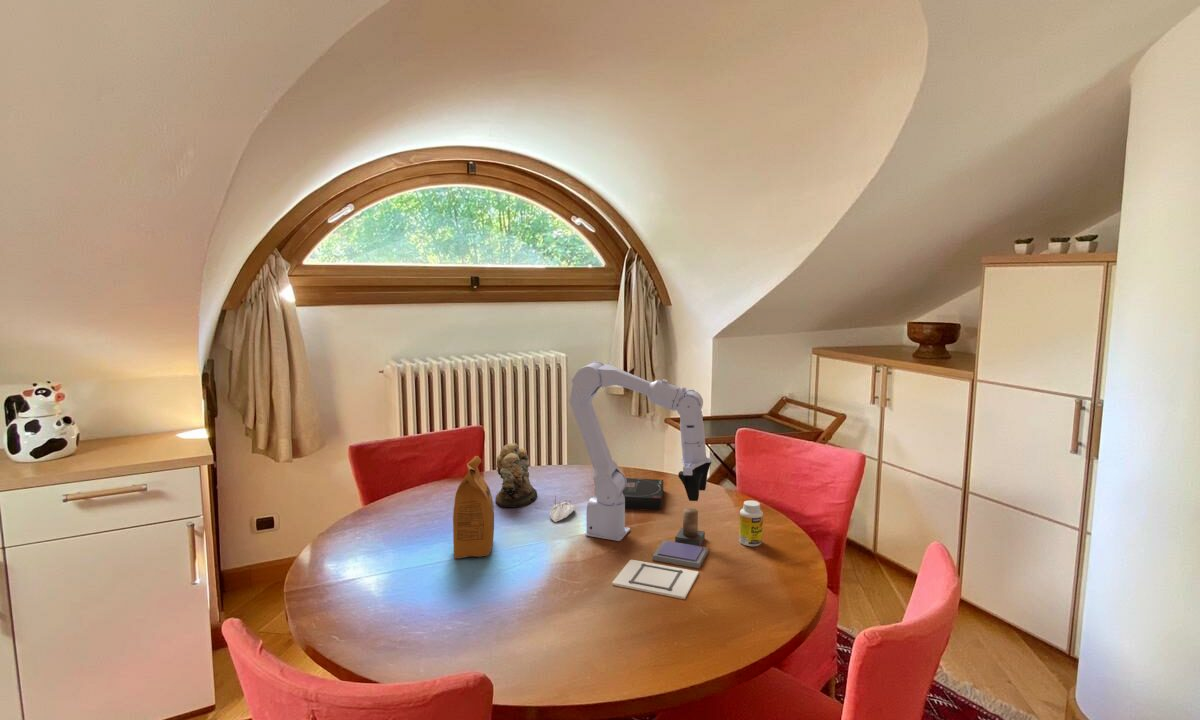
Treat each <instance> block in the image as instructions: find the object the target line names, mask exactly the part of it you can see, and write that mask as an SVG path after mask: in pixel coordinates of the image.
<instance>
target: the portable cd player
mask: <svg viewBox="0 0 1200 720" xmlns="http://www.w3.org/2000/svg"><path fill="white" fill-rule="evenodd" d="M626 481H627V484H626V487H625V489H624V490H623V491H622V493H623V495H624V497H625V510H639V509H647V510H646V511H658V510H661V511H662V506H661V505H662V503H663V496H664V479H655V478H654V479H653V478H632V477H631V478H630V477H626Z"/></svg>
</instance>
